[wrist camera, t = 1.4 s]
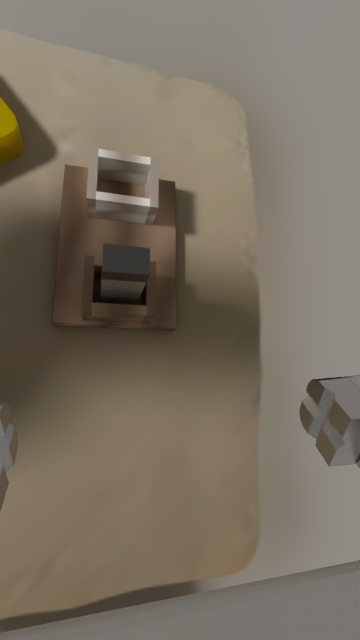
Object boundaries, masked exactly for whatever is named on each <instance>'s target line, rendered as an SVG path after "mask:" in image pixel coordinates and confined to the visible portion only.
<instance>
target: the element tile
mask: <svg viewBox="0 0 360 640" xmlns="http://www.w3.org/2000/svg"><path fill="white" fill-rule="evenodd" d="M23 148H24V145H23V140H22V137H21V133H20V130H19V126H18V123H17V119H16V117H15V115H14V114H13V112H12V111H11V110H10V109H9V107H8V106H7V105H6V103H5V102H4V101H3V100H2V98H1V97H0V165H1V164H3V163H6V162H8V161H10V160H12V159H14V158H16V157H18V156H19V155H20V154H21V153H22V152H23Z"/></svg>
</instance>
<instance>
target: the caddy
mask: <svg viewBox="0 0 360 640" xmlns="http://www.w3.org/2000/svg"><path fill="white" fill-rule="evenodd" d="M103 243H105V244H115V245H125V246H134V247H144V248H150V276H149V278H148V280H147V282H146V284H145V287H144V289H143V291H142V293H141V295H140V297H139V300H138V302H137V304H136V305H127V304H110V303H100V296H101V276H102V258H103ZM52 323H53V325H56V326H80V327H105V328H129V329H154V330H174V329H175V328H176V223H175V182H174V181H167V180H161V179H159V159H156V158H150V157H144V156H138V155H132V154H126V153H121V152H115V151H109V150H103V149H97V148H91V147H90V150H89V165H88V168H84V167H78V166H71V165H65V172H64V184H63V196H62V208H61V221H60V233H59V245H58V257H57V270H56V282H55V294H54V307H53V319H52Z"/></svg>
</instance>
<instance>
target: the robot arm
mask: <svg viewBox="0 0 360 640" xmlns="http://www.w3.org/2000/svg"><path fill="white" fill-rule="evenodd" d="M306 391H307V393H308V395H309V396H307V398H305V399H304V400H303V401H302V403H301V407H300V419H301V422H302V425H303V427H304V429H305V430H306V432H307V433H308V434H309V435H311V436H312V437H314V438H315V439H317V440H316V447H317V449H318V450H319V452H320V453H321V455H322V456H323V457H324V459H325V461H326V462H327V464H328V465H329V466H338V465H347V464H357V466H358V467H360V375H357V376H346V377H337V378H325V379H313V380H311V381H310V382H309V383H308V386H307V389H306ZM11 415H12V412H11V409H10V405H9V404H8V403H6V402H1V403H0V511H1V508H2V504H3V501H4V497H5V494H6V490H7V487H8V484H9V482H8V479H7V475H6V473H7V472H8V471H9V470H10V469H11V468H12V467H13V466H14V462H15V458H16V454H17V444H18V441H17V432H16V427H15V426H14V425H12V424H11V423H9V421H10V418H11ZM0 640H360V560H359V561H354V562H349V563H344V564H340V565H335V566H329V567H324V568H319V569H315V570H310V571H305V572H300V573H295V574H290V575H285V576H280V577H275V578H270V579H265V580H260V581H255V582H250V583H245V584H241V585H236V586H230V587H225V588H221V589H216V590H211V591H206V592H201V593H196V594H191V595H186V596H181V597H176V598H171V599H167V600H161V601H156V602H151V603H146V604H142V605H137V606H131V607H127V608H122V609H117V610H112V611H107V612H102V613H97V614H92V615H87V616H82V617H77V618H73V619H67V620H63V621H58V622H53V623H48V624H43V625H38V626H33V627H28V628H23V629H18V630H13V631H8V632H3V633H0Z"/></svg>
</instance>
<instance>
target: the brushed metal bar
mask: <svg viewBox="0 0 360 640" xmlns="http://www.w3.org/2000/svg"><path fill="white" fill-rule="evenodd" d="M149 276H150V248H144V247H134V246H125V245H115V244H105V243H103V258H102V276H101V296H100V303H110V304H127V305H136V304H137V302H138V300H139V297H140V295H141V293H142V291H143V289H144V287H145V284H146V282H147V280H148V278H149Z"/></svg>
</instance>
